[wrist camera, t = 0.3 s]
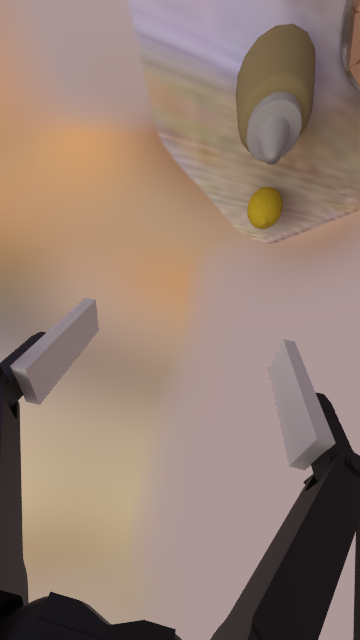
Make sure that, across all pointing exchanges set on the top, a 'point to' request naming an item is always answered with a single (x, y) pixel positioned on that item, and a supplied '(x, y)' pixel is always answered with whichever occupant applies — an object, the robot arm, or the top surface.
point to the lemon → (265, 207)
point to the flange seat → (351, 41)
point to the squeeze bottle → (275, 92)
